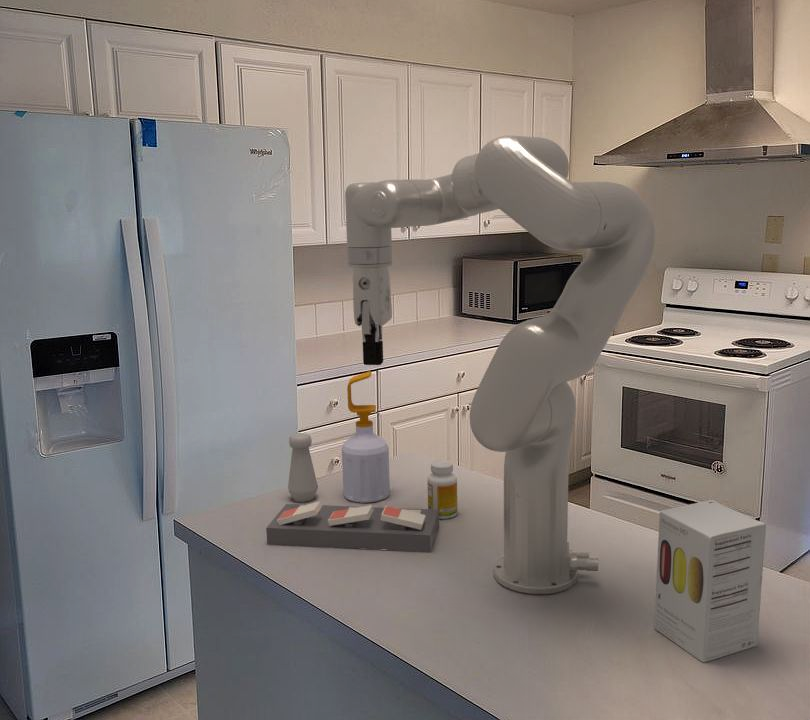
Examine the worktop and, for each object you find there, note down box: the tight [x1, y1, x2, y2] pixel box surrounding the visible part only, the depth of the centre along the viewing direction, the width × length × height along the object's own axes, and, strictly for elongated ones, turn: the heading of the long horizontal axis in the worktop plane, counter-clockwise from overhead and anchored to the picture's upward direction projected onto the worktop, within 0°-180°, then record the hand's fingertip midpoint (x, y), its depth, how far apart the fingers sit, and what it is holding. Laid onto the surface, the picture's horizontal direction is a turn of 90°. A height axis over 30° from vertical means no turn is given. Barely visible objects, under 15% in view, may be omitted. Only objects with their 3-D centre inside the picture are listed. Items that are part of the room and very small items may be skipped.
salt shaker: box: [287, 432, 319, 503], centre depth 157 cm, size 6×6×13 cm
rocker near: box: [380, 505, 426, 530], centre depth 136 cm, size 7×4×1 cm, turn 81°
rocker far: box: [277, 501, 323, 525], centre depth 139 cm, size 7×4×1 cm, turn 80°
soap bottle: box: [341, 370, 391, 504], centre depth 157 cm, size 9×9×25 cm
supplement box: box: [653, 499, 767, 663], centre depth 104 cm, size 10×9×17 cm
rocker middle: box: [328, 504, 374, 526], centre depth 138 cm, size 7×4×1 cm, turn 80°
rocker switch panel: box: [265, 503, 440, 553], centre depth 140 cm, size 28×11×4 cm, turn 80°
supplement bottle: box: [427, 460, 458, 520], centre depth 148 cm, size 5×5×10 cm
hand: (373, 363), depth 140 cm, fingers closed
